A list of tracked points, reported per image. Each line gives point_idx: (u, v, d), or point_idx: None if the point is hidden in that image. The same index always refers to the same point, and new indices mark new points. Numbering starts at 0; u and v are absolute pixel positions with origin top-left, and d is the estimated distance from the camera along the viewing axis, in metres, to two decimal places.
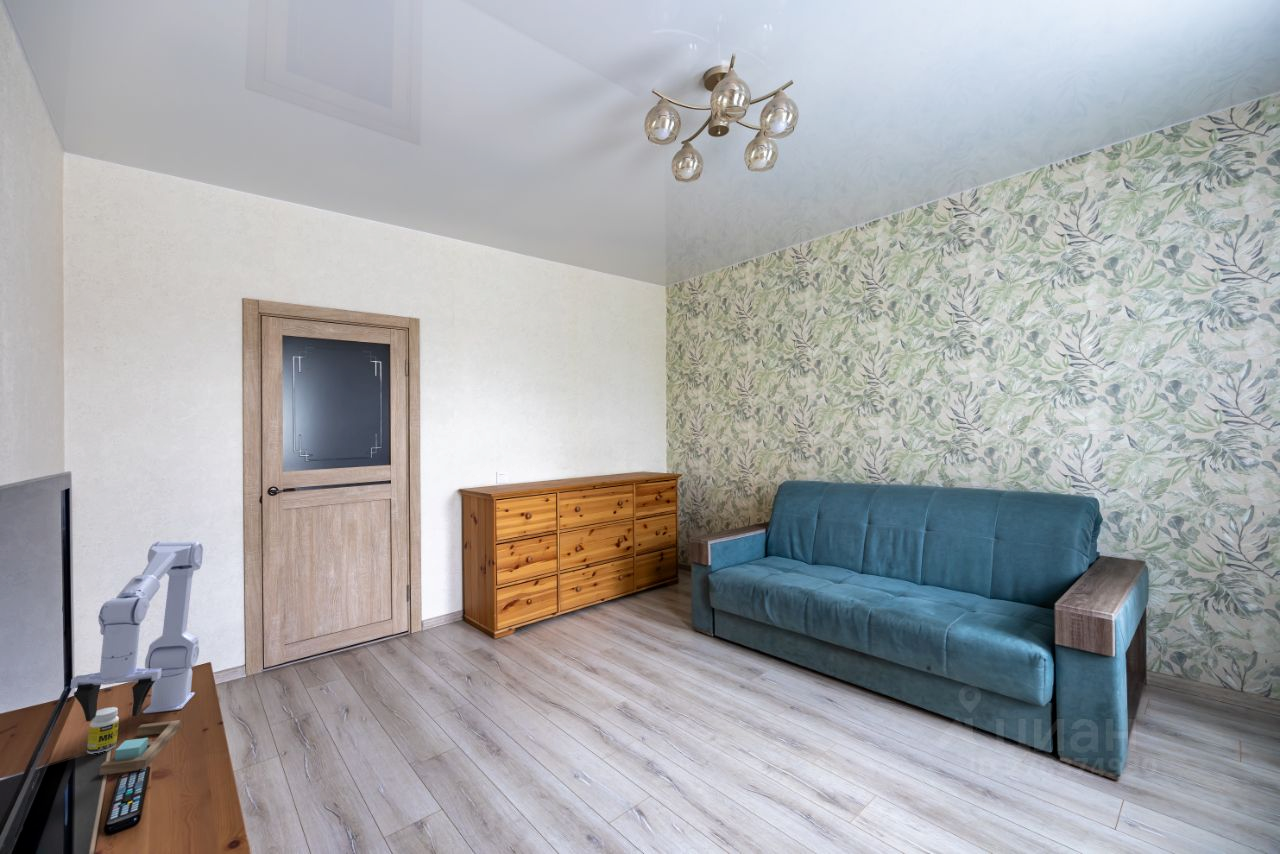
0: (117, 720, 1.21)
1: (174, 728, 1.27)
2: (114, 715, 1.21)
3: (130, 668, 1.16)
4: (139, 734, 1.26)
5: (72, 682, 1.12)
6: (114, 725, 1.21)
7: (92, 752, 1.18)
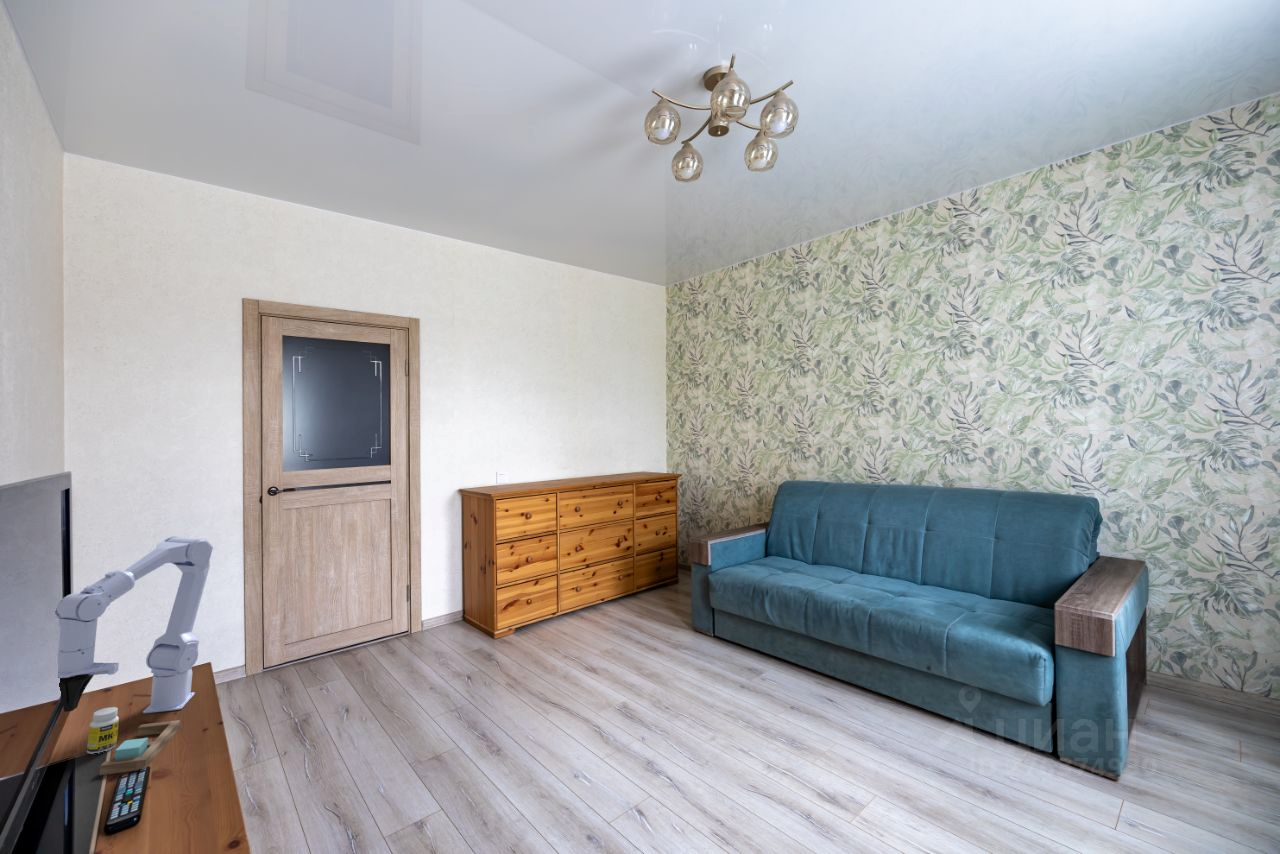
0: (117, 720, 1.21)
1: (174, 728, 1.27)
2: (114, 715, 1.21)
3: (87, 662, 1.19)
4: (139, 734, 1.26)
5: None
6: (114, 725, 1.21)
7: (92, 752, 1.18)
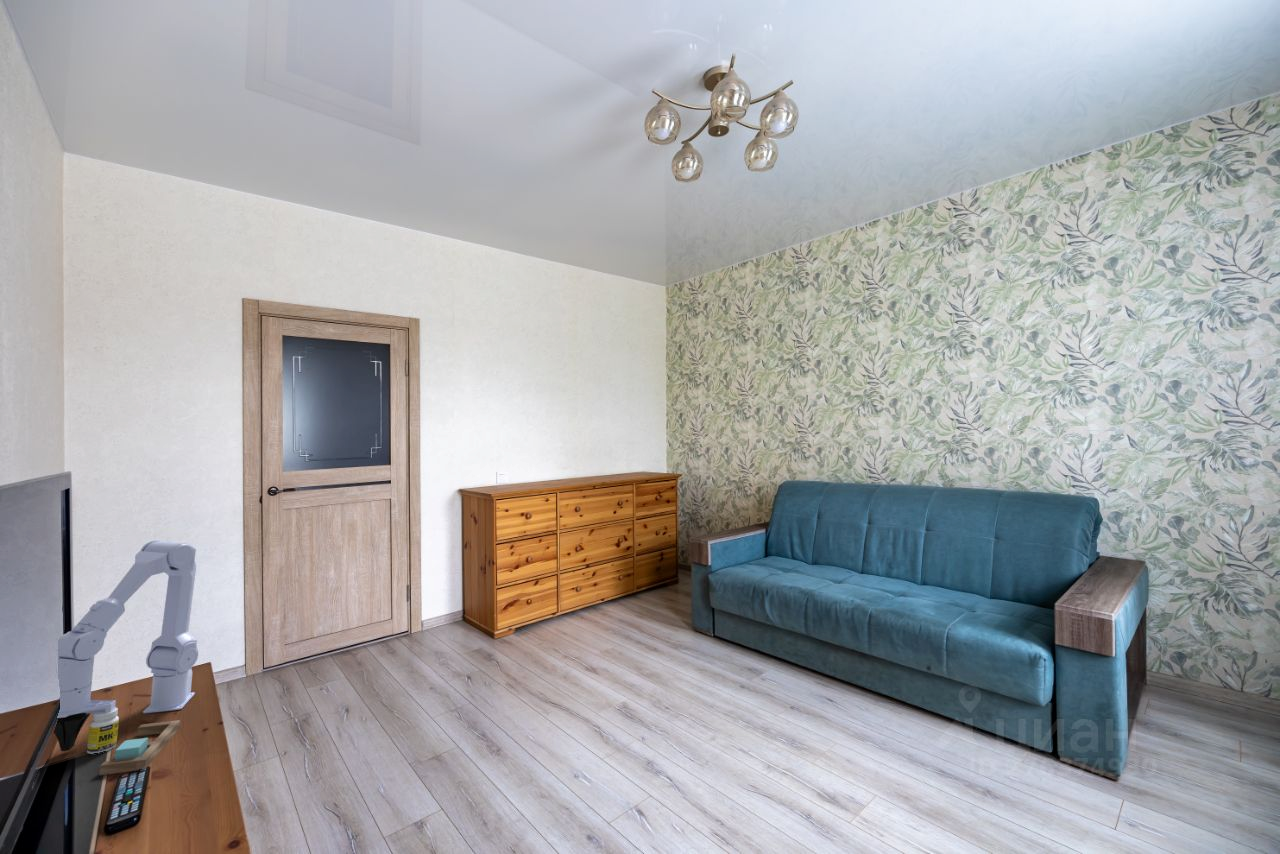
0: (117, 720, 1.21)
1: (174, 728, 1.27)
2: (114, 715, 1.21)
3: (84, 701, 1.18)
4: (139, 734, 1.26)
5: None
6: (114, 725, 1.21)
7: (92, 752, 1.18)
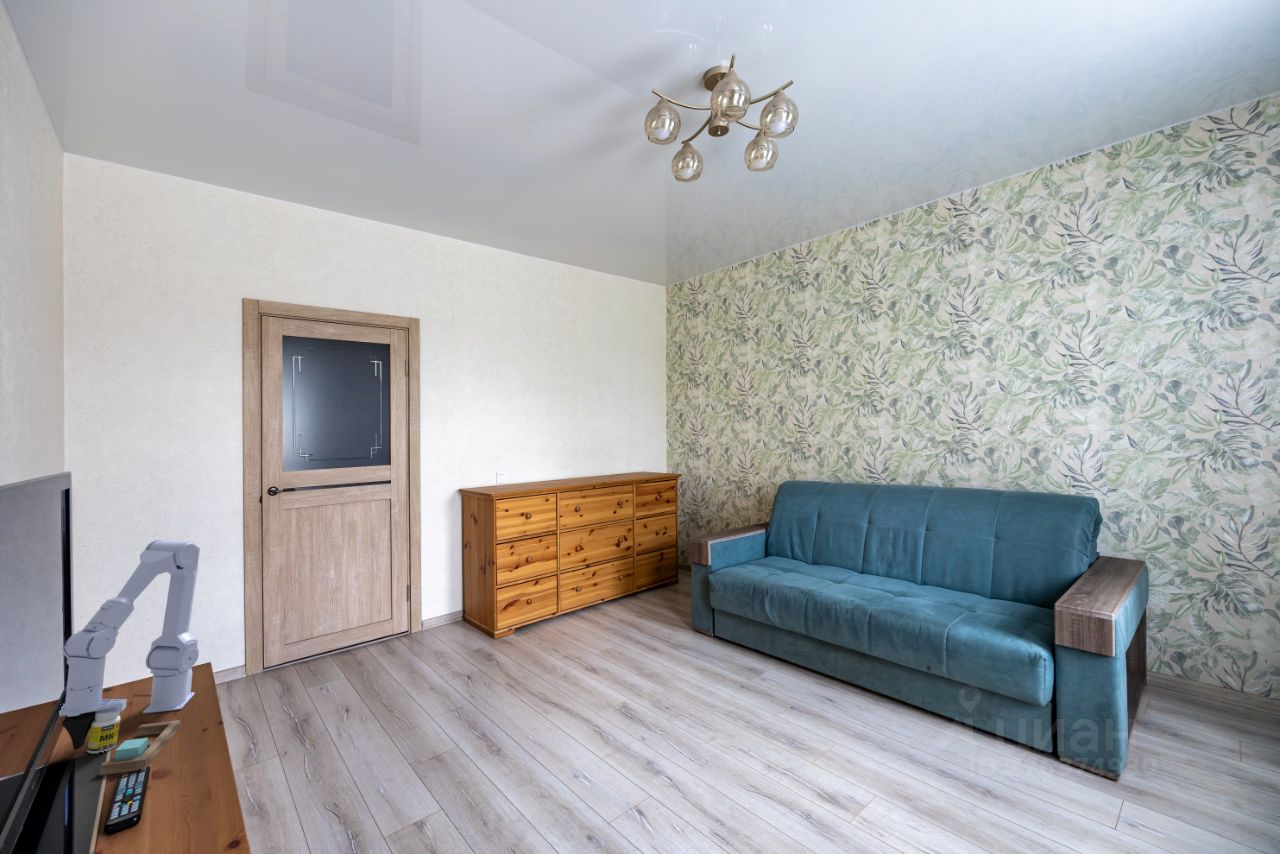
0: (119, 720, 1.22)
1: (174, 728, 1.27)
2: (116, 715, 1.21)
3: (95, 699, 1.19)
4: (139, 734, 1.26)
5: None
6: (115, 725, 1.21)
7: (92, 751, 1.18)
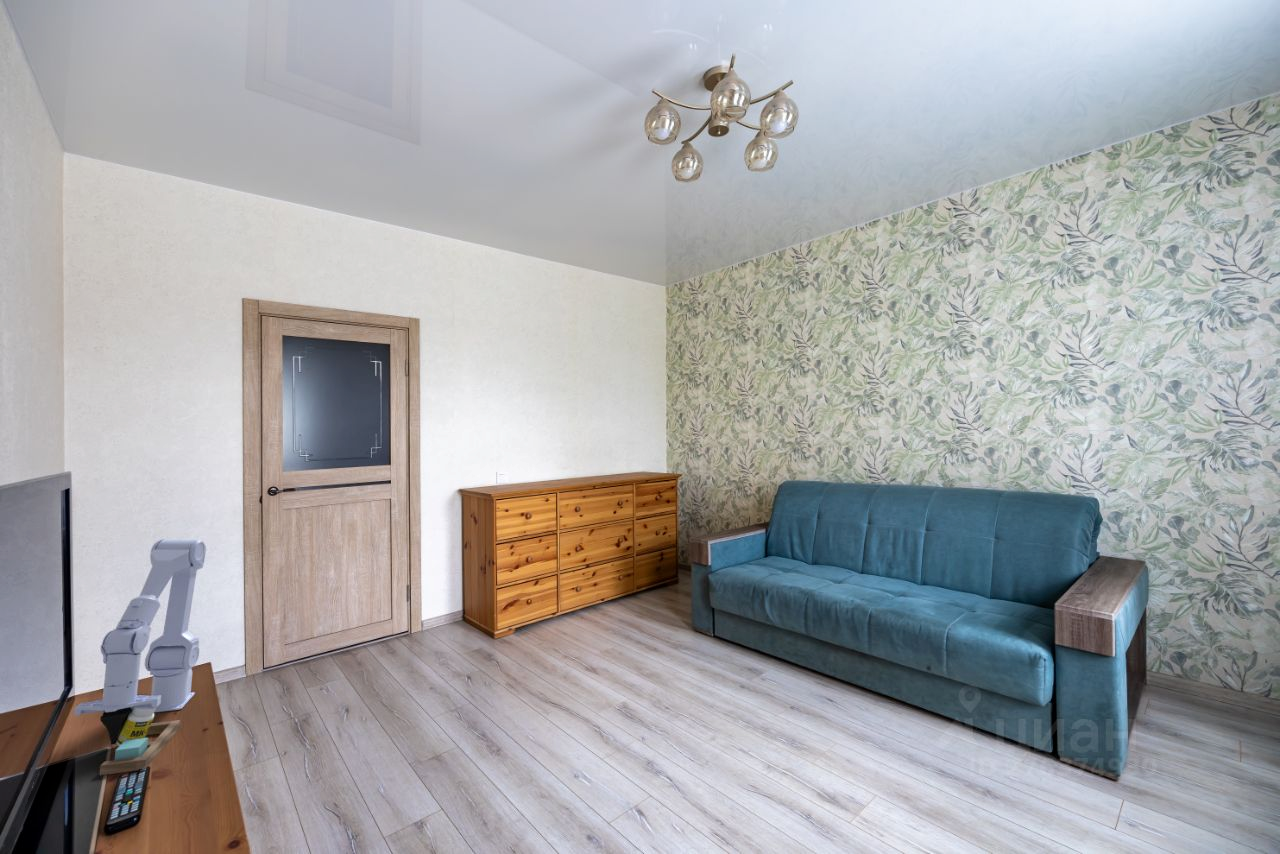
0: (152, 718, 1.24)
1: (174, 728, 1.27)
2: (151, 712, 1.23)
3: (131, 696, 1.21)
4: None
5: (76, 710, 1.18)
6: (148, 722, 1.23)
7: None
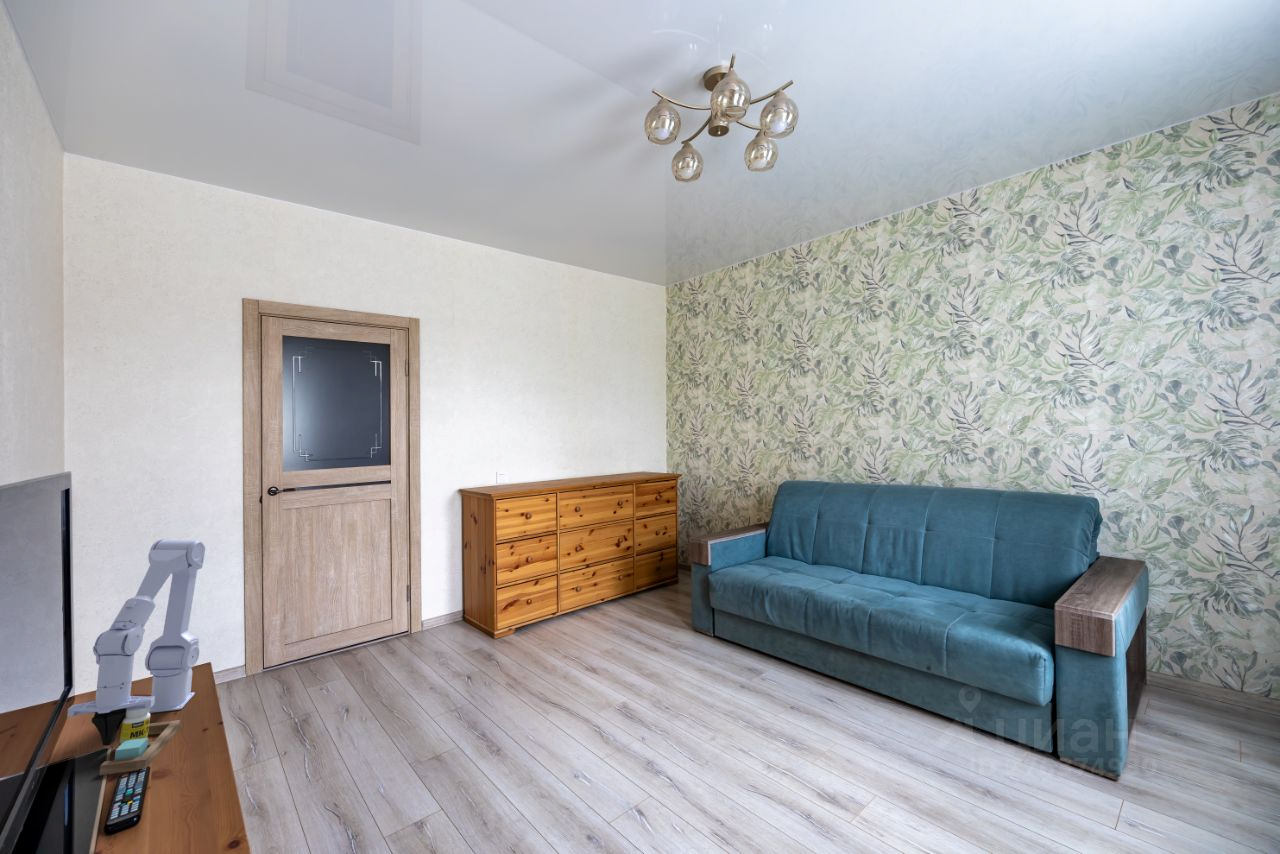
0: (148, 717, 1.23)
1: (174, 728, 1.27)
2: (146, 712, 1.23)
3: (125, 697, 1.21)
4: None
5: (69, 711, 1.18)
6: (145, 722, 1.22)
7: None
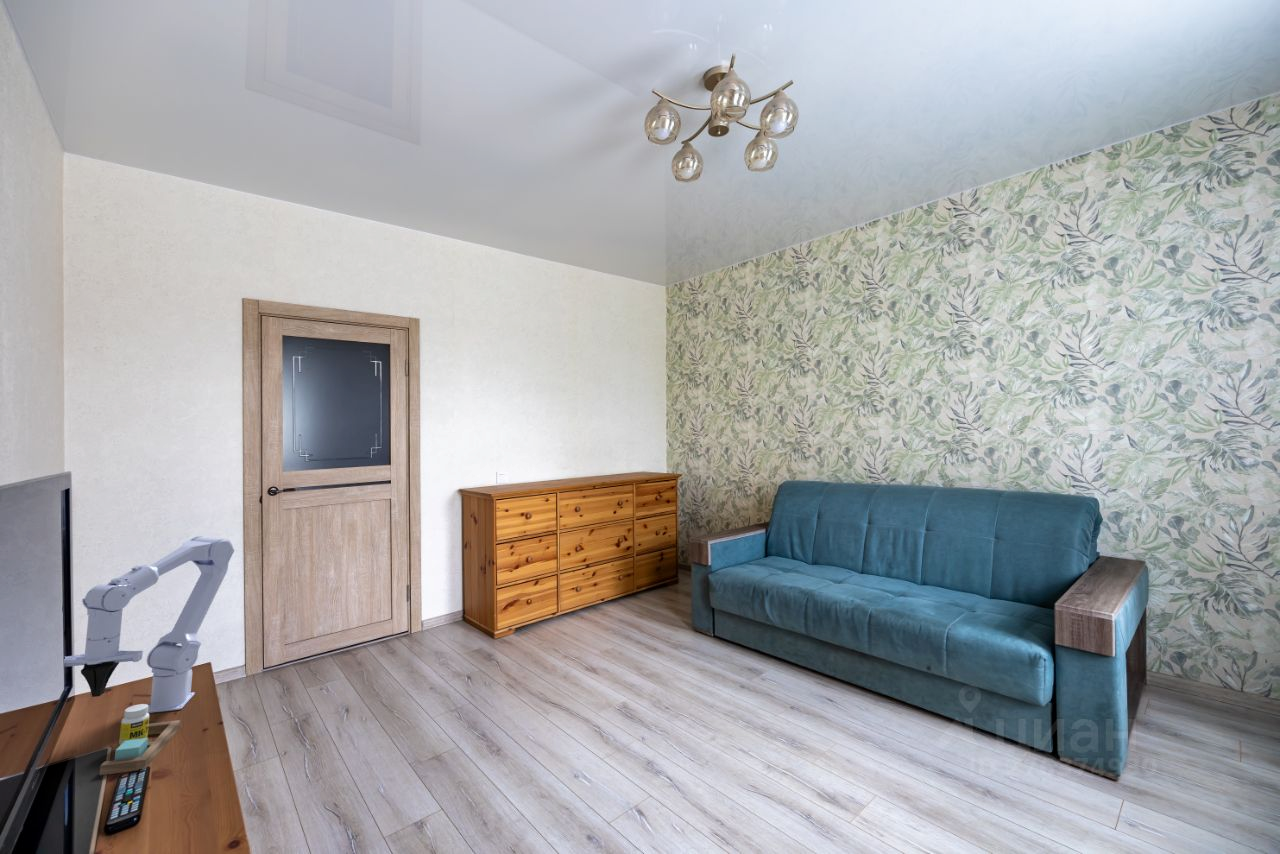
0: (147, 717, 1.23)
1: (174, 728, 1.27)
2: (144, 712, 1.23)
3: (113, 650, 1.25)
4: None
5: None
6: (144, 722, 1.22)
7: None
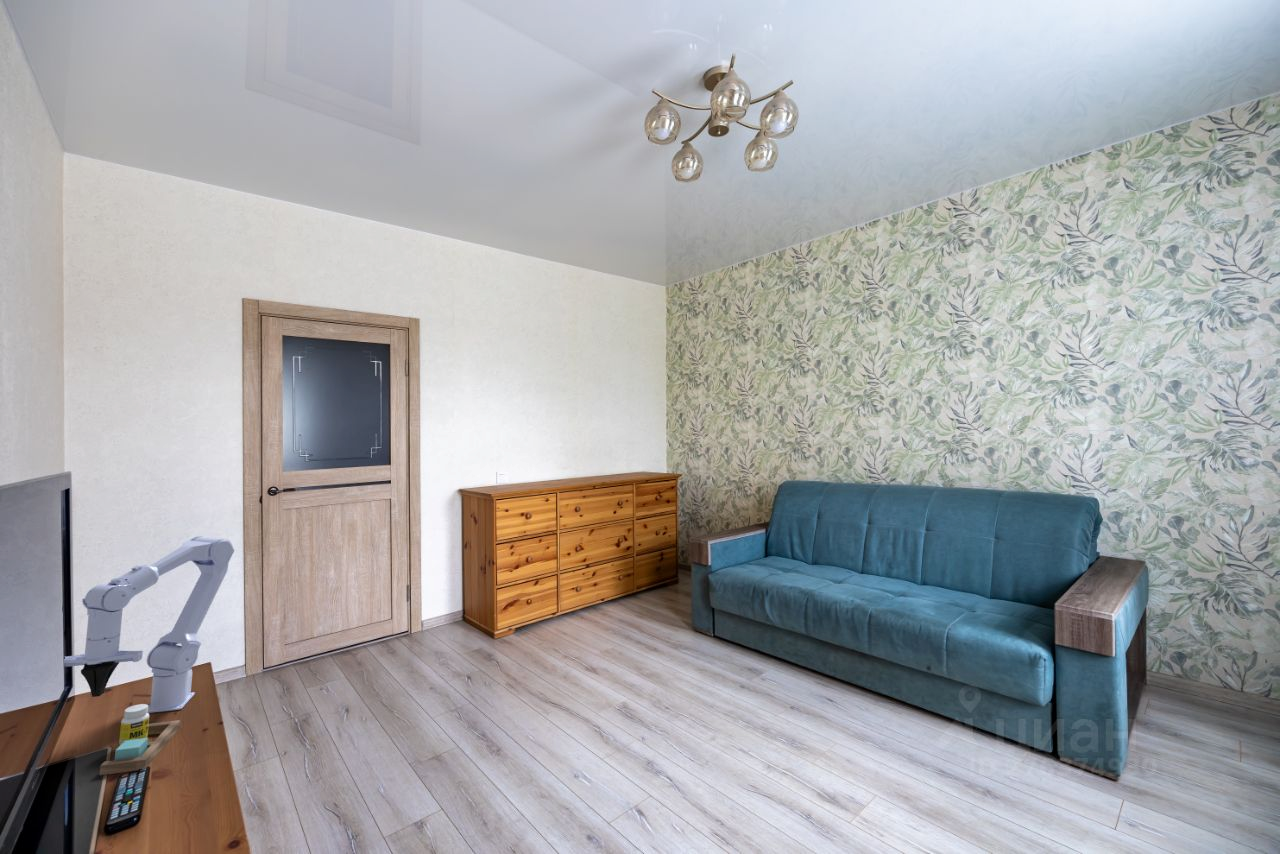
0: (147, 717, 1.23)
1: (174, 728, 1.27)
2: (144, 712, 1.23)
3: (113, 650, 1.25)
4: None
5: None
6: (144, 722, 1.22)
7: None
